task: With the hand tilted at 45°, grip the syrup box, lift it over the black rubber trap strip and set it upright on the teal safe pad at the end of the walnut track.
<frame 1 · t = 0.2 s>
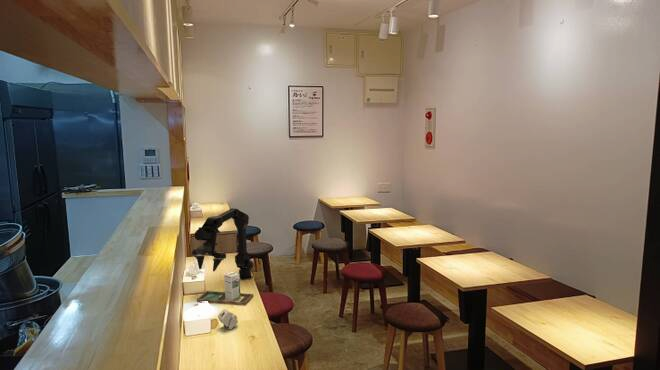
hand: (206, 270, 233), 15 cm above the table, tool tilted 15°, fingers open, 9 cm apart
grey lumpy piece: (228, 327, 201), on the table
syrup box: (233, 300, 232), resting on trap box
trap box: (225, 299, 233), on the table
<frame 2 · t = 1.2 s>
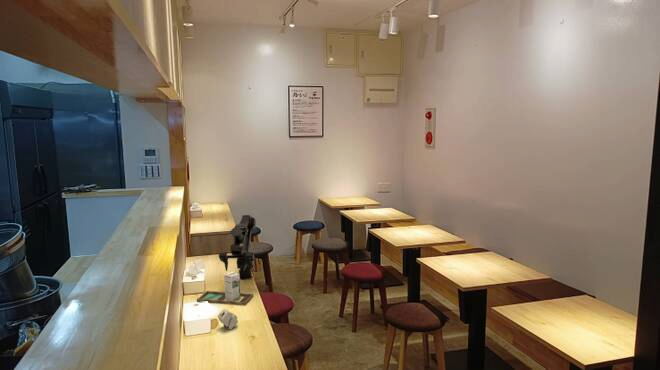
hand: (234, 270, 237), 13 cm above the table, tool tilted 45°, fingers open, 9 cm apart
nothing on the table moved.
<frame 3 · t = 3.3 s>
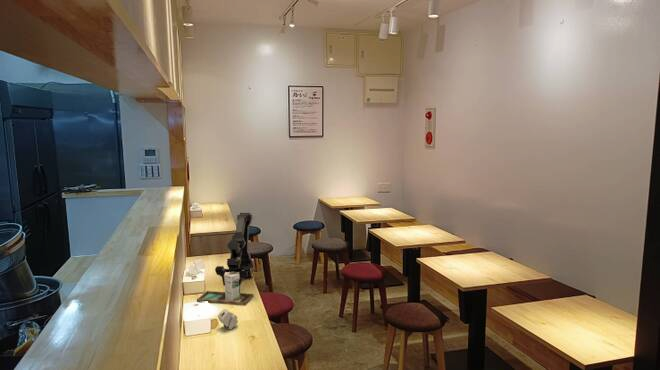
hand: (231, 285, 230), 8 cm above the table, tool tilted 45°, fingers closed on syrup box, 8 cm apart
syrup box: (233, 300, 232), resting on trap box, touching gripper
everything else where it was.
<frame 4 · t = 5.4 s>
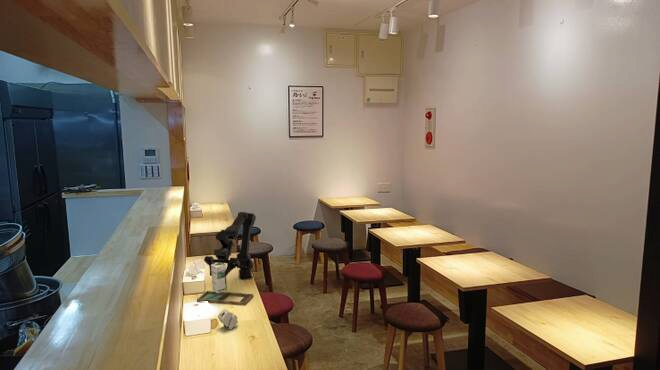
hand: (217, 276, 230), 13 cm above the table, tool tilted 45°, fingers closed on syrup box, 8 cm apart
syrup box: (219, 290, 233), point 5 cm above the table, touching gripper
everything else where it was.
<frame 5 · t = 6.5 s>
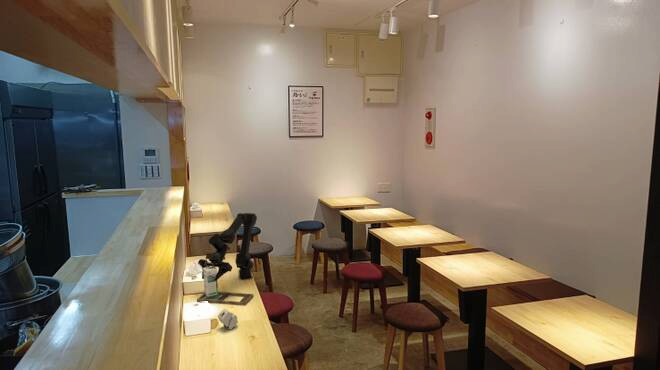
hand: (208, 279, 232), 11 cm above the table, tool tilted 45°, fingers closed on syrup box, 8 cm apart
syrup box: (211, 294, 235), point 2 cm above the table, touching gripper
everything else where it was.
when the fingers open (10 cm above the table, at t = 7.3 s): syrup box stays where it is, resting on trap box.
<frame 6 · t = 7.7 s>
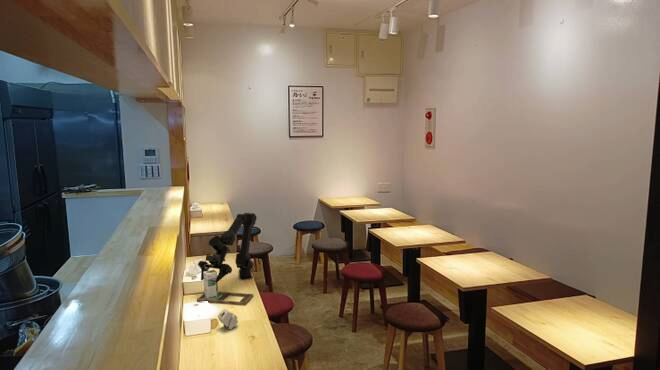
hand: (208, 281, 232), 10 cm above the table, tool tilted 45°, fingers open, 9 cm apart
syrup box: (211, 298, 235), resting on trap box
everything else where it was.
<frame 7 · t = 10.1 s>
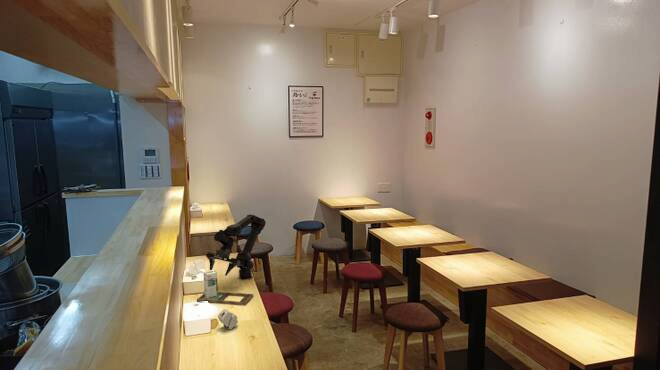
hand: (217, 273, 243), 10 cm above the table, tool tilted 35°, fingers open, 9 cm apart
nothing on the table moved.
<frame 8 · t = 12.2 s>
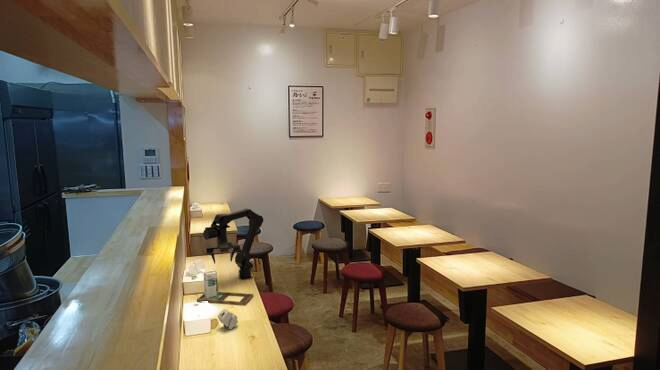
hand: (222, 262, 253), 13 cm above the table, tool pointing down, fingers open, 9 cm apart
nothing on the table moved.
at the end: syrup box inside the target area (0.3 cm from its centre), resting on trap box; syrup box tilted 0°; the gripper is holding nothing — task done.
